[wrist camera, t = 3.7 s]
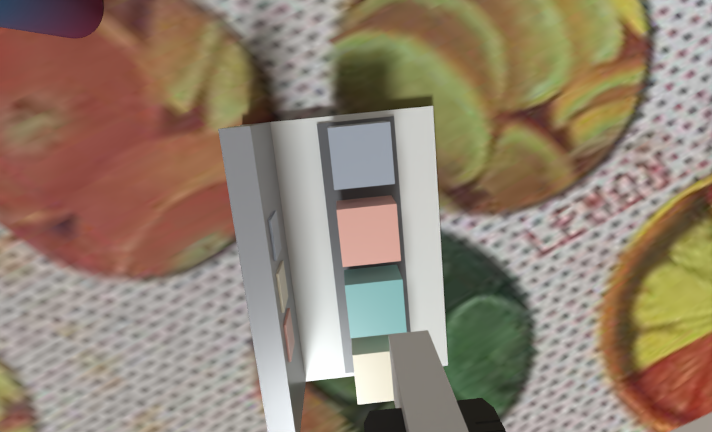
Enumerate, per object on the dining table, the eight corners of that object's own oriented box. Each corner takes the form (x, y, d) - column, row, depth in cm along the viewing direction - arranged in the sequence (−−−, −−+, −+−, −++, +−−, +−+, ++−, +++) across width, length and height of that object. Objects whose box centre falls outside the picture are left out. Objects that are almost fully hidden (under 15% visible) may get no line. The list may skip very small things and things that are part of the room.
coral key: (342, 253, 39) (342, 267, 35) (336, 200, 38) (336, 210, 34) (395, 247, 39) (401, 261, 35) (391, 195, 38) (396, 203, 34)
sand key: (356, 380, 41) (357, 404, 38) (350, 334, 40) (352, 355, 37) (405, 374, 41) (412, 398, 38) (401, 329, 40) (408, 349, 37)
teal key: (349, 318, 40) (350, 338, 36) (343, 270, 39) (344, 285, 35) (400, 313, 40) (406, 332, 37) (396, 264, 39) (402, 279, 36)
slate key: (334, 182, 37) (334, 190, 34) (328, 126, 36) (327, 128, 33) (389, 177, 37) (395, 183, 34) (385, 120, 36) (390, 121, 33)
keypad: (280, 378, 44) (264, 454, 34) (242, 124, 39) (210, 129, 29) (445, 359, 44) (476, 429, 35) (430, 106, 39) (461, 104, 29)
